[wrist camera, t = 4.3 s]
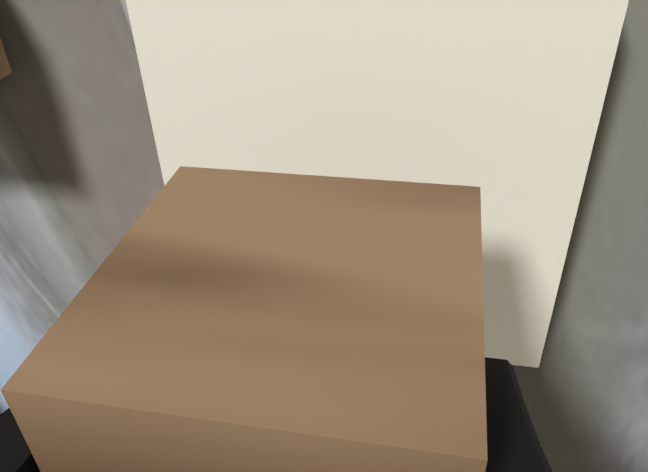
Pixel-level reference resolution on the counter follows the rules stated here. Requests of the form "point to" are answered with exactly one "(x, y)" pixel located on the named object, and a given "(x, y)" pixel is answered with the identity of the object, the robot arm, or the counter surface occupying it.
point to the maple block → (4, 63)
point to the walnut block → (271, 334)
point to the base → (400, 112)
